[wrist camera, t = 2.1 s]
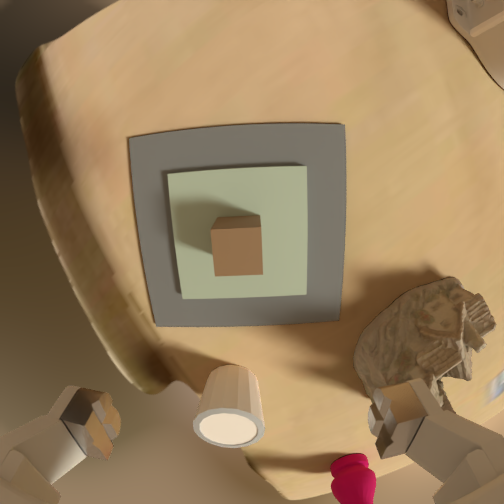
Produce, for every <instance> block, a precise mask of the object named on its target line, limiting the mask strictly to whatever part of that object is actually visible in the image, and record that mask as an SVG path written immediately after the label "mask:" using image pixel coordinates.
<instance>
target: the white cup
mask: <svg viewBox="0 0 504 504" xmlns="http://www.w3.org/2000/svg"><path fill="white" fill-rule="evenodd" d="M193 428H194V431H195V432H196V434H197V435H198V436H199V437H200V438H201V439H203V440H205V441H206V442H208V443H210V444H213V445H217V446H220V447H229V448H237V447H245V446H249V445H251V444H253V443H256V442H257V441H259V440H260V439H261V438H262V437H263V435H264V431H265V425H264V418H263V412H262V405H261V399H260V392H259V385H258V381H257V378H256V376H255V374H253V373H252V372H251V371H250V370H249V369H247V368H244V367H242V366H239V365H225V366H220V367H218V368H216V369H214V370H213V371H212V372H211V373H210V375H209V376H208V379H207V382H206V385H205V388H204V391H203V394H202V397H201V400H200V403H199V406H198V409H197V412H196V415H195V418H194V421H193Z"/></svg>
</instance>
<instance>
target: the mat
mask: <svg viewBox="0 0 504 504" xmlns="http://www.w3.org/2000/svg"><path fill="white" fill-rule="evenodd" d="M129 145H130V160H131V172H132V183H133V192H134V201H135V210H136V218H137V225H138V232H139V239H140V245H141V252H142V258H143V263H144V269H145V275H146V280H147V285H148V290H149V295H150V300H151V305H152V309H153V314H154V318H155V323H156V327H234V326H263V325H284V324H300V323H314V322H327V321H339V316H340V306H341V295H342V282H343V268H344V251H345V229H346V139H345V125H341V124H307V123H286V124H251V125H234V126H220V127H208V128H198V129H189V130H180V131H172V132H165V133H158V134H151V135H145V136H139V137H133V138H129ZM271 166H307V210H308V242H307V294H306V295H290V296H270V297H247V298H214V299H183V298H182V292H181V285H180V279H179V272H178V265H177V258H176V250H175V242H174V234H173V226H172V217H171V207H170V197H169V186H168V175H167V174H170V173H179V172H190V171H202V170H214V169H229V168H247V167H271Z"/></svg>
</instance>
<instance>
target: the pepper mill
mask: <svg viewBox="0 0 504 504" xmlns="http://www.w3.org/2000/svg"><path fill="white" fill-rule="evenodd" d="M368 466H369V463H368V460H367V457H366V456H365V455H364V454H351V455H347V456H344V457H342V458H339V459H338V460H336V461H334V462H333V463H332V465H331V467H330V469H331V474H332V476H333V477H334V480H333V481H332V483H331V489H332V492H333V494H334V496H335V498H336V499H337V500H338V501H339V502H340V503H341V504H373V497H374V492H375V487H376V477H375V473H374V472H373V471H372V470H371V469H369V468H368Z"/></svg>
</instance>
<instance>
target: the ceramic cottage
mask: <svg viewBox="0 0 504 504" xmlns="http://www.w3.org/2000/svg"><path fill="white" fill-rule="evenodd" d="M495 327H496V323H495V321H494V317H493V316H492V315H491V313H490V311H489V308H488V306H487V304H486V302H485V301H484V299H483V297H482V296H481V295H480V294H479V293H477V294H475V295H474V294H472V293H471V292H469V291H467V290H465V289H464V287H463V285H462V284H461V282H460V281H459V280H458V279H457V278H455V277H453V278H452V277H448V279H447V278H444V280H439V281H435V282H432V283H430V284H426V285H425V286H424V285H421V286H420V287H419V286H418V287H416V288H414V289H412V290H409V291H407V292H406V293H404V294H403V295H401V296H400V298H397V299H396V300H395V301H393V303H392V304H391V305H390V306H389V308H386V309H385V310H384V311H382V312H381V313H380V314H379V315H378V316H377V317H376V318H375V319H374V320H373V321H372V322H371V323H370V325H368V326H367V327H366V328H365V329H364V331H363V332H362V334H361V335H360V337H359V340H358V343H357V345H356V348H355V352H354V357H353V365H354V369H355V370H356V372H357V374H358V376H359V378H360V379H361V380H362V382H363V385H364V388H365V391H366V394H367V395H368V396H369V397H370V398H371V402H372V404H373V403H374V402H375V401H374V398H373V394H374V391H375V389H376V388H377V387H382V386H387V385H392V384H396V383H401V382H406V381H409V380H413V379H417V378H421V379H423V381H424V382H425V384H426V385H427V387H428V388H429V390H430V391H431V393H432V394H433V396H434V397H435V399H436V400H437V402H438V403H439V405H440V406H441V408H442V410H443V411H445V410H449V411H451V412H453V413H455V414H456V412H454V410H453V408H452V406H451V404H450V402H449V400H448V399H447V396H446V393H445V391H444V390H443V382H441V378H442V377H453V378H458V379H465V380H466V381H469V380H471V379H472V362H471V356H472V348H473V349H474V350H475V351H476V352H477V353H478V352H480V351H481V350H482V349H483V348H485V347H486V345H487V344H486V343H485V341H484V340H483V337H484V336H485V335H487V334H488V333H489V332H491V331H493V330H495Z"/></svg>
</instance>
